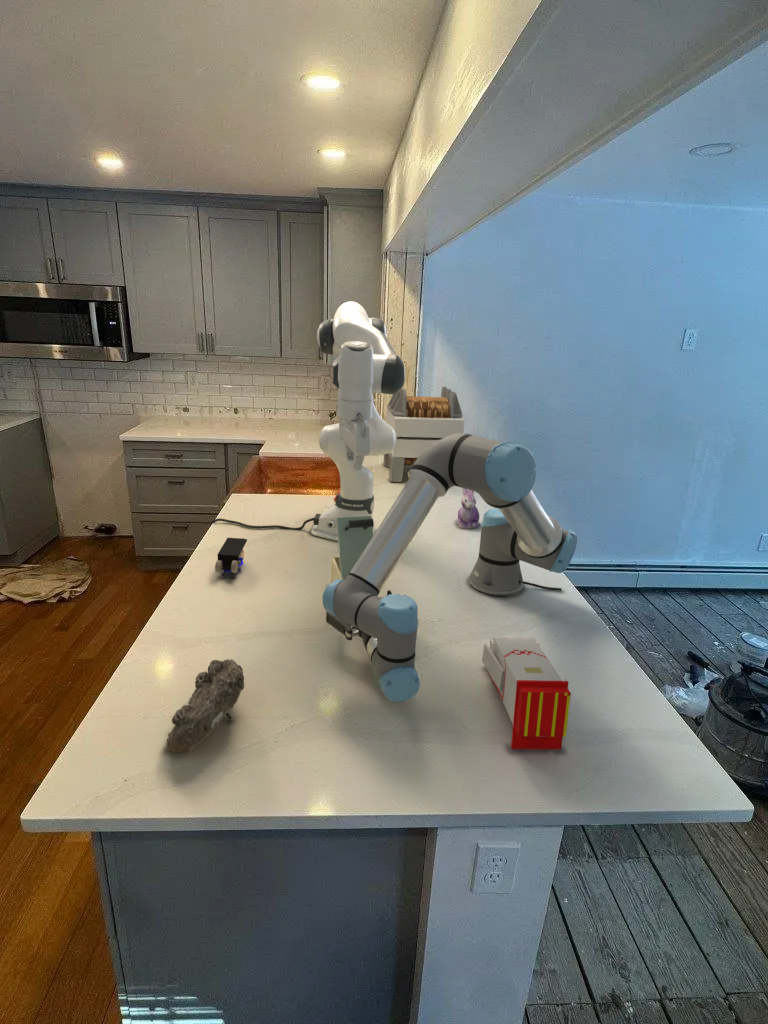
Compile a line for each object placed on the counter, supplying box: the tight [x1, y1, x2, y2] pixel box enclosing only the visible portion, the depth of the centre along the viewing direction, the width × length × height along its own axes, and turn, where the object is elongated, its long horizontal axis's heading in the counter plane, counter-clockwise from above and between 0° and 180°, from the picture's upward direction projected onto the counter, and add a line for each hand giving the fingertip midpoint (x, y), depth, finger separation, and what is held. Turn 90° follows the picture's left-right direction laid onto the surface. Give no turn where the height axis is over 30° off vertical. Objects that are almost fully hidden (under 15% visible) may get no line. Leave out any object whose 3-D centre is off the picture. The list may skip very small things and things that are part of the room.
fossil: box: [166, 658, 245, 754], centre depth 106 cm, size 22×10×15 cm
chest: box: [330, 555, 345, 583], centre depth 153 cm, size 15×9×9 cm, turn 15°
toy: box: [481, 636, 572, 751], centre depth 115 cm, size 12×13×30 cm
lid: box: [336, 516, 375, 579], centre depth 142 cm, size 16×9×9 cm
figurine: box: [456, 488, 480, 530], centre depth 209 cm, size 9×10×15 cm
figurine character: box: [214, 537, 248, 578], centre depth 166 cm, size 7×8×15 cm
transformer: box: [383, 386, 465, 483], centre depth 268 cm, size 34×33×41 cm
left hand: (353, 464), depth 145 cm, fingers open, 8 cm apart
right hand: (361, 597), depth 140 cm, fingers open, 13 cm apart
